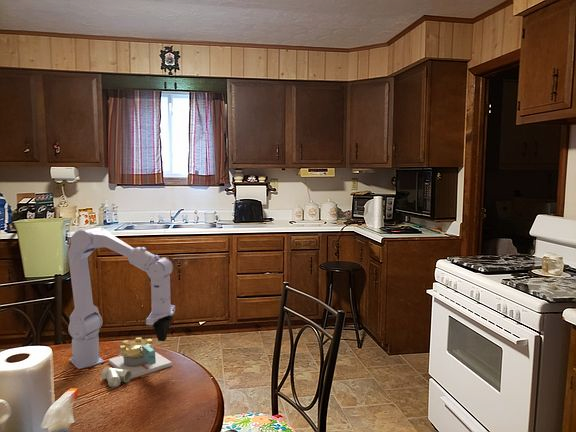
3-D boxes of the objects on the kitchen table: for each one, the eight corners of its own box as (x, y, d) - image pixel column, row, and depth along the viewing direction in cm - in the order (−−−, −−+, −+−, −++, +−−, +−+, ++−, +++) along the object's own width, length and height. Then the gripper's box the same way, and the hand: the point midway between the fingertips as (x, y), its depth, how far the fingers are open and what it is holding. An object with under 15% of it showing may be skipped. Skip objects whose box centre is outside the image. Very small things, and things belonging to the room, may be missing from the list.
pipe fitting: (117, 391, 129) (132, 379, 136) (116, 378, 129) (131, 367, 135) (94, 387, 132) (109, 376, 138) (93, 375, 131) (108, 364, 137)
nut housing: (108, 362, 147) (108, 350, 147) (149, 351, 157) (149, 339, 156) (129, 379, 135) (128, 365, 135) (171, 365, 145) (171, 353, 144)
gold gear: (115, 350, 146) (115, 338, 145) (145, 343, 152) (145, 331, 152) (136, 369, 132) (136, 355, 131) (168, 360, 138) (168, 347, 138)
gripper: (160, 305, 132) (161, 350, 134) (183, 292, 146) (184, 333, 148) (139, 303, 134) (140, 347, 135) (163, 291, 148) (164, 331, 149)
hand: (162, 340), depth 142 cm, fingers closed
